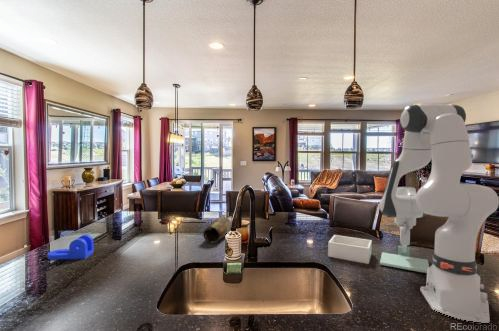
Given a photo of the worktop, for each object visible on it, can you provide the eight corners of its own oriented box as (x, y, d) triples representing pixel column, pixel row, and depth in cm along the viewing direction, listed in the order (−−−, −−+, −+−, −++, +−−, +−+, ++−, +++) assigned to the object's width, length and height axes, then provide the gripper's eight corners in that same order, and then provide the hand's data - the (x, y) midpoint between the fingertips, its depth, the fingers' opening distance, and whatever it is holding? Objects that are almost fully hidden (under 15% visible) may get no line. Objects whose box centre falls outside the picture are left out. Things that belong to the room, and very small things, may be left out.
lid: (430, 275, 110) (430, 262, 110) (379, 265, 120) (380, 254, 119) (426, 260, 126) (427, 250, 126) (382, 253, 135) (382, 243, 135)
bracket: (93, 252, 133) (93, 234, 133) (85, 258, 125) (85, 239, 124) (54, 253, 131) (54, 235, 131) (43, 260, 123) (42, 240, 122)
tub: (368, 263, 122) (369, 248, 121) (328, 256, 130) (328, 242, 130) (371, 254, 134) (371, 240, 134) (334, 248, 142) (334, 234, 142)
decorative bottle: (222, 239, 145) (244, 219, 189) (213, 222, 146) (237, 206, 189) (206, 248, 147) (231, 226, 191) (197, 230, 148) (224, 213, 192)
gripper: (413, 225, 118) (412, 257, 118) (411, 217, 136) (411, 244, 136) (397, 224, 121) (396, 254, 122) (397, 215, 139) (396, 242, 139)
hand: (404, 249), depth 129 cm, fingers open, 7 cm apart
